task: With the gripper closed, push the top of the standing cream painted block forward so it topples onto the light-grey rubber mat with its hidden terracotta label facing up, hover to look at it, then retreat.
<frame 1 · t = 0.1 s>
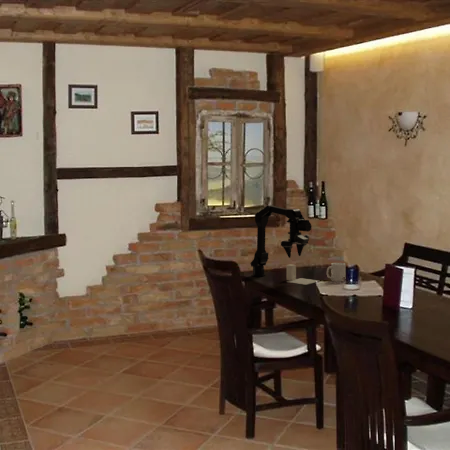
hand: (294, 256, 416), 15 cm above the table, fingers open, 9 cm apart
mat: (303, 281, 416), on the table
cup: (335, 281, 417), on the table
block: (291, 279, 422), on the table
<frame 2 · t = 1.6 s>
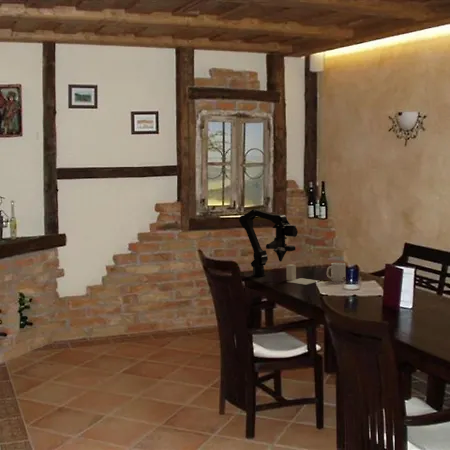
hand: (280, 261, 427), 10 cm above the table, fingers closed
nothing on the table moved.
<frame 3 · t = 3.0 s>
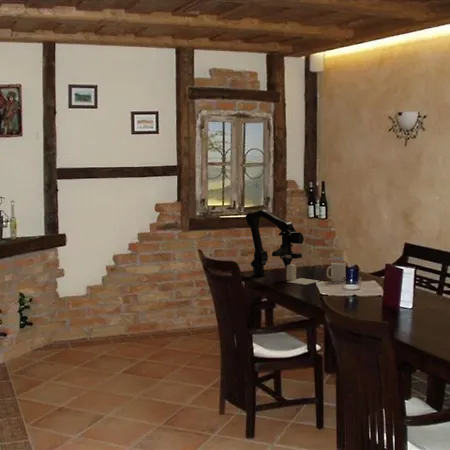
hand: (286, 268, 424), 6 cm above the table, fingers closed
block: (291, 279, 422), on the table, touching gripper, mat
everything else where it was.
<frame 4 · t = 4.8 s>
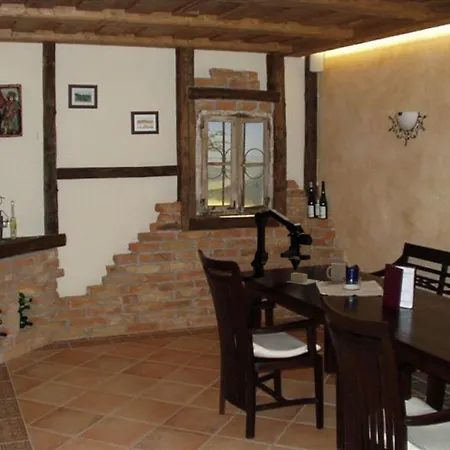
hand: (295, 270, 420), 6 cm above the table, fingers closed
block: (293, 276, 421), point 2 cm above the table, tilted 90°, touching mat
everything else where it was.
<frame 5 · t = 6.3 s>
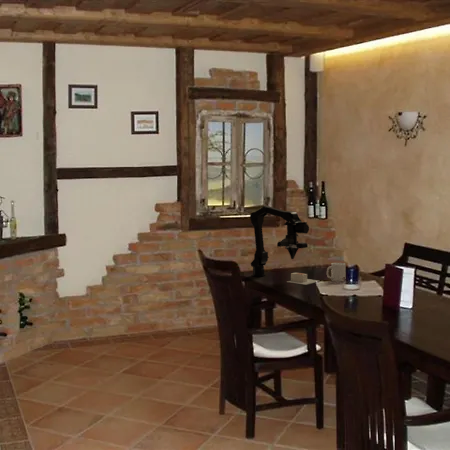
hand: (292, 259, 420), 13 cm above the table, fingers closed
nothing on the table moved.
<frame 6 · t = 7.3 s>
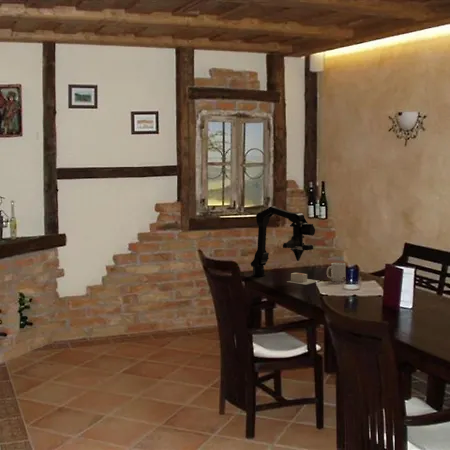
hand: (297, 260, 417), 12 cm above the table, fingers closed
nothing on the table moved.
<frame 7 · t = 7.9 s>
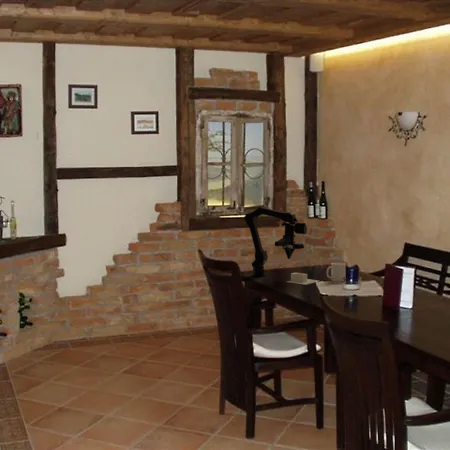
hand: (288, 258, 428), 12 cm above the table, fingers closed
nothing on the table moved.
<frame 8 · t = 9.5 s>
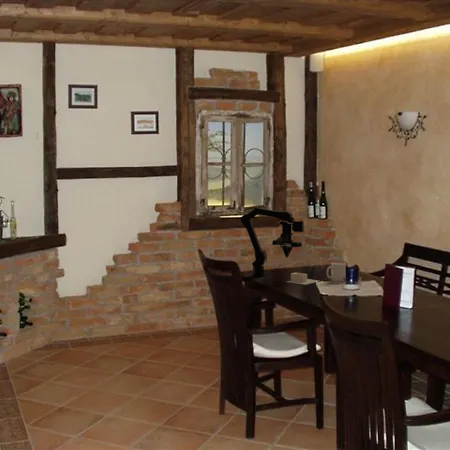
hand: (286, 257, 431), 12 cm above the table, fingers closed
nothing on the table moved.
at the end: block tilted 90°; block inside the target area (4.7 cm from its centre), point 2.3 cm above the table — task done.
